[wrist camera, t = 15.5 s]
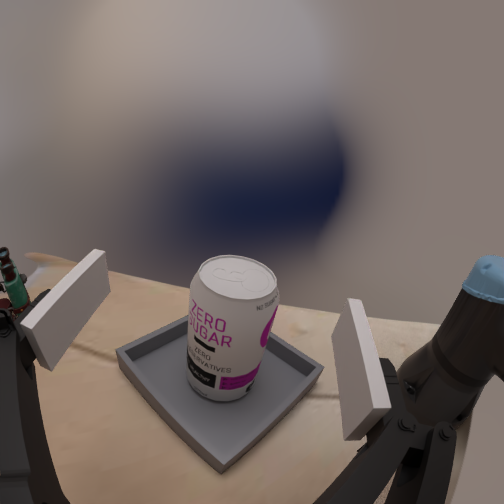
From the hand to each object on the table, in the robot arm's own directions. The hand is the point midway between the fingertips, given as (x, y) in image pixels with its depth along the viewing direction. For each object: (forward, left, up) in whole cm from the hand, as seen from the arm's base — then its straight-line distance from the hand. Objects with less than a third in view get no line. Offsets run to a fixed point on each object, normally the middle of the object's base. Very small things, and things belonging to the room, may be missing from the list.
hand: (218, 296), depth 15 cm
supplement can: (+5, -8, -20) cm, 22 cm away
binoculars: (+32, +13, -21) cm, 40 cm away
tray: (+6, -8, -21) cm, 23 cm away
